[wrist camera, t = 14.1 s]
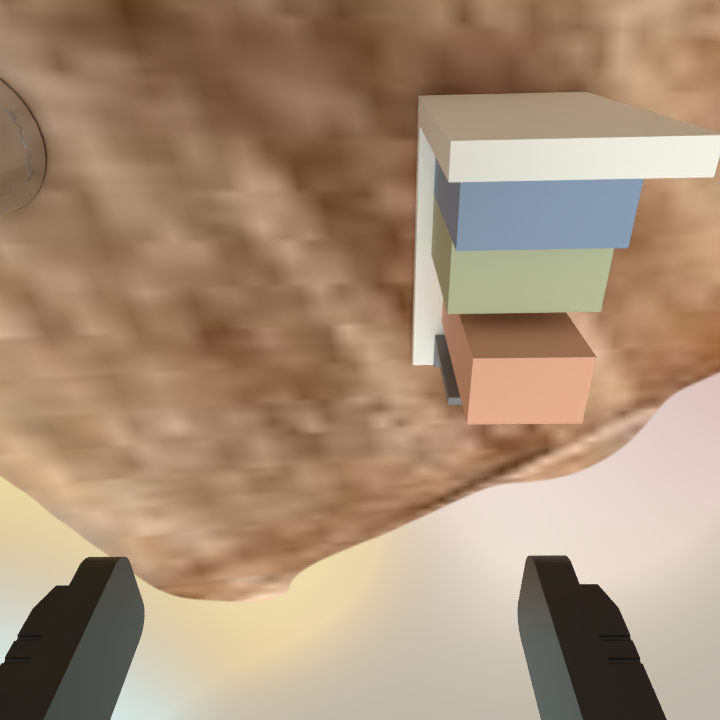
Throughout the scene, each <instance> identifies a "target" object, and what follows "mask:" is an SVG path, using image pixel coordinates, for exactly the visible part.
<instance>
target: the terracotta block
mask: <svg viewBox="0 0 720 720" xmlns="http://www.w3.org/2000/svg"><path fill="white" fill-rule="evenodd" d="M442 325H443V329H444V333H445V337H446V341H447V345H448V349H449V354H450V358H451V362H452V366H453V370H454V374H455V378H456V382H457V386H458V390H459V394H460V398H461V402H462V406H463V410H464V414H465V418H466V422H467V424H562V423H582V422H583V417H584V412H585V408H586V403H587V399H588V394H589V390H590V385H591V380H592V376H593V371H594V367H595V362H596V358H597V357H596V356H595V354H594V353H593V351H592V350H591V348H590V347H589V345H588V344H587V343H586V341H585V340H584V338H583V337H582V335H581V334H580V332H579V331H578V329H577V328H576V327H575V325H574V324H573V322H572V321H571V319H570V318H569V316H568V315H567V313H566V312H553V313H488V314H447V310H446V306H445V303H444V299H443V308H442Z"/></svg>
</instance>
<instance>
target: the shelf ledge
mask: <svg viewBox="0 0 720 720" xmlns="http://www.w3.org/2000/svg"><path fill="white" fill-rule="evenodd" d="M719 157H720V133H717V132H714V131H711V130H708V129H705V128H701V127H698V126H695V125H692V124H688V123H685V122H682V121H679V120H676V119H672V118H669V117H666V116H663V115H660V114H656V113H653V112H650V111H647V110H643V109H640V108H637V107H634V106H631V105H627V104H624V103H621V102H618V101H615V100H611V99H608V98H605V97H602V96H598V95H595V94H592V93H589V92H550V93H508V94H465V95H422V96H419V99H418V136H417V174H416V212H415V249H414V287H413V324H412V361H413V365H434V367H440V369H441V374H442V378H443V383H444V388H445V393H446V397H447V402H448V405H462V402H461V398H460V394H459V390H458V386H457V382H456V378H455V374H454V370H453V366H452V362H451V358H450V354H449V349H448V345H447V341H446V337H445V333H444V329H443V325H442V308H443V299H444V303H445V306H446V310H447V314H488V313H553V312H601V308H602V303H603V298H604V294H605V289H606V284H607V279H608V275H609V270H610V265H611V260H612V255H613V251H614V248H628V247H629V242H630V238H631V233H632V229H633V224H634V220H635V215H636V211H637V206H638V202H639V197H640V193H641V188H642V184H643V179H645V178H695V177H714V175H715V171H716V167H717V164H718V160H719Z"/></svg>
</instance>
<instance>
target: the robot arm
mask: <svg viewBox="0 0 720 720" xmlns="http://www.w3.org/2000/svg"><path fill="white" fill-rule="evenodd" d="M45 164H46V155H45V149H44V144H43V139H42V137H41V134H40V131H39V129H38V126H37V124H36V122H35V120H34V118H33V117H32V115H31V113H30V112H29V110H28V108H27V107H26V106H25V104H24V103H23V102H22V101H21V100H20V98H19V97H18V96H17V95H16V94H15V92H14V91H12V90H11V89H10V88H9V87H8V86H7V85H6V84H4V83H3V82H2V81H1V80H0V218H2V217H4V216H6V215H8V214H10V213H11V212H13V211H15V210H17V209H19V208H21V207H22V206H24V205H26V204H27V203H28V202H29V201H30V200H31V199H32V198H33V197H34V196H35V195H36V193H37V192H38V190H39V188H40V187H41V185H42V182H43V178H44V174H45ZM143 625H144V604H143V601H142V598H141V595H140V592H139V589H138V586H137V582H136V580H135V576H134V573H133V570H132V567H131V564H130V562H129V560H128V558H126V557H88V558H86V559H85V560H83V562H82V563H81V564H80V566H79V568H78V570H77V571H76V573H75V575H74V577H73V579H72V581H71V583H70V585H69V586H55V587H54V588H53V589H52V590H51V591H50V592H49V593H48V594H47V595H46V596H45V597H44V598H43V599H42V600H41V601H40V602H39V603H38V604H37V605H36V606H35V607H34V608H33V609H32V611H31V613H30V614H29V616H28V618H27V620H26V622H25V623H24V625H23V627H22V629H21V631H20V632H19V634H18V639H17V640H16V641H14V642H13V644H12V646H11V648H10V649H9V651H8V653H7V655H6V657H5V662H4V663H2V664H1V665H0V720H110V719H111V716H112V713H113V711H114V708H115V705H116V702H117V700H118V697H119V694H120V692H121V688H122V686H123V683H124V681H125V678H126V675H127V673H128V670H129V667H130V665H131V662H132V659H133V657H134V654H135V651H136V648H137V646H138V643H139V640H140V637H141V634H142V630H143ZM518 625H519V631H520V636H521V641H522V645H523V649H524V653H525V657H526V661H527V665H528V669H529V673H530V677H531V681H532V685H533V689H534V693H535V697H536V701H537V705H538V709H539V713H540V717H541V720H667V719H666V717H665V715H664V712H663V710H662V708H661V705H660V703H659V701H658V699H657V696H656V694H655V692H654V689H653V687H652V685H651V682H650V680H649V678H648V675H647V673H646V671H645V668H644V666H643V664H641V662H640V657H639V654H638V652H637V650H636V647H635V645H634V643H633V641H631V639H630V633H629V631H628V629H627V626H626V624H625V622H624V619H623V617H622V615H621V612H620V610H619V608H618V607H617V606H616V604H615V603H614V602H613V601H612V600H611V599H610V598H609V597H608V595H607V594H606V593H605V592H604V591H603V590H602V589H601V588H600V587H599V585H597V584H579V582H578V579H577V577H576V574H575V571H574V568H573V566H572V564H571V561H570V559H569V558H568V557H567V556H528V557H527V559H526V563H525V568H524V573H523V579H522V585H521V590H520V596H519V601H518Z"/></svg>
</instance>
